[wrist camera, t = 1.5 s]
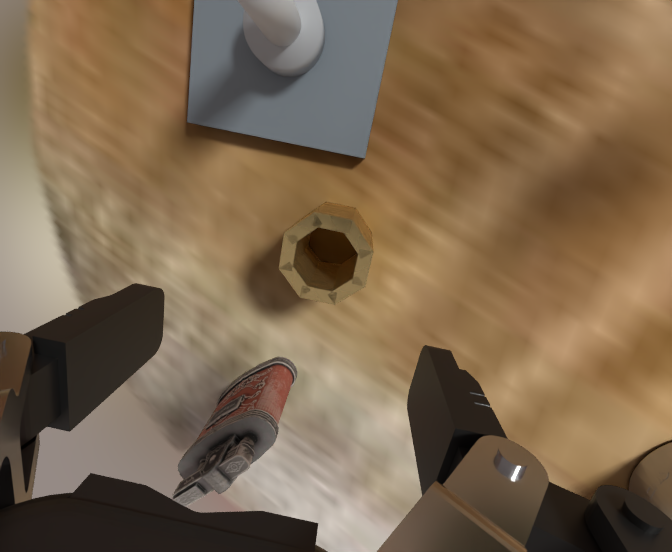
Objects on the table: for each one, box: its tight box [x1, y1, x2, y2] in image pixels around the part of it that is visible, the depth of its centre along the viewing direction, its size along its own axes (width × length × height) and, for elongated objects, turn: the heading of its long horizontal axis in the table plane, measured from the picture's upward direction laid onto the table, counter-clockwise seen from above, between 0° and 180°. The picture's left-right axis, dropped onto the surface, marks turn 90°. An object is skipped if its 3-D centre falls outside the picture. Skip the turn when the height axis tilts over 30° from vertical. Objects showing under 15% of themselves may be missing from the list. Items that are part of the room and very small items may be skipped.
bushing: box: [279, 202, 373, 305], centre depth 23 cm, size 5×5×6 cm
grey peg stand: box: [187, 0, 398, 159], centre depth 18 cm, size 12×12×10 cm
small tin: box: [172, 357, 297, 507], centre depth 26 cm, size 8×3×10 cm, turn 128°
